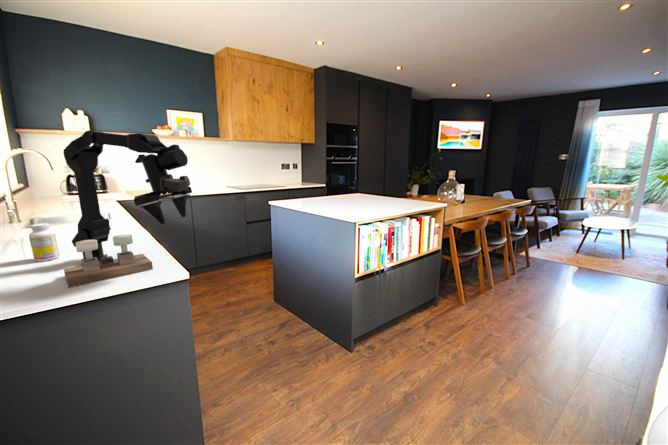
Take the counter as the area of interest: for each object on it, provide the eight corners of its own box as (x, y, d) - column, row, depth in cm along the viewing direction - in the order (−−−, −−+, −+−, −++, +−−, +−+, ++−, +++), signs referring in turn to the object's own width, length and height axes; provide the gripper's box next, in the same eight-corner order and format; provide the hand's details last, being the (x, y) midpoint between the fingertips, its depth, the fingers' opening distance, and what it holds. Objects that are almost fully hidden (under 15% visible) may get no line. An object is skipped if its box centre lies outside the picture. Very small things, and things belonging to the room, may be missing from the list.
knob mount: (65, 276, 92) (61, 259, 91) (143, 260, 107) (141, 245, 106) (68, 288, 84) (64, 269, 83) (152, 269, 98) (150, 253, 97)
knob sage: (114, 253, 97) (111, 236, 96) (132, 249, 100) (129, 233, 99) (117, 256, 93) (114, 239, 92) (135, 253, 97) (133, 236, 96)
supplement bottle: (45, 256, 112) (38, 222, 109) (64, 255, 112) (57, 222, 109) (29, 262, 105) (21, 226, 102) (49, 261, 106) (41, 226, 103)
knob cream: (78, 259, 91) (74, 241, 90) (98, 255, 94) (95, 238, 93) (79, 263, 87) (76, 245, 86) (101, 259, 91) (98, 241, 90)
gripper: (153, 170, 85) (172, 223, 88) (197, 165, 102) (211, 209, 105) (123, 179, 88) (143, 229, 91) (171, 173, 105) (186, 215, 108)
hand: (174, 220), depth 99 cm, fingers open, 9 cm apart
